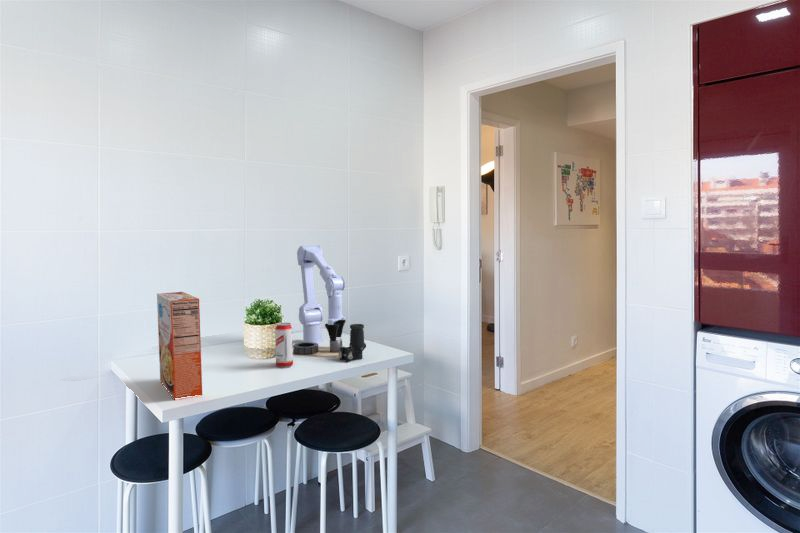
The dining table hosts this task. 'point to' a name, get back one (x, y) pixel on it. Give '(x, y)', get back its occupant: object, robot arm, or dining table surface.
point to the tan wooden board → (322, 353)
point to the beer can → (284, 345)
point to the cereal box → (179, 343)
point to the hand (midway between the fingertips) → (335, 339)
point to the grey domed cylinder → (335, 345)
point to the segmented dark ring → (305, 348)
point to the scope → (353, 344)
